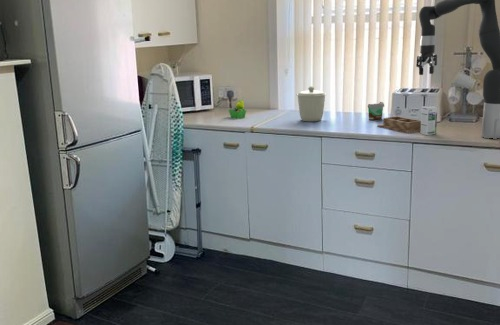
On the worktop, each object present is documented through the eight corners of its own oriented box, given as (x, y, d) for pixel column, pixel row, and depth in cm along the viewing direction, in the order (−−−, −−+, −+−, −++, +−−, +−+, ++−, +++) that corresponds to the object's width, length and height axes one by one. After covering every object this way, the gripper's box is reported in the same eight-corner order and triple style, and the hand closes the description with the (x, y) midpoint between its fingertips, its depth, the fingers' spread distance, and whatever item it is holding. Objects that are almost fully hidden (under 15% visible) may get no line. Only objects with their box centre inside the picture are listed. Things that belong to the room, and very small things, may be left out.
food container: (375, 121, 304) (376, 105, 301) (367, 120, 308) (367, 104, 306) (388, 118, 311) (388, 102, 309) (379, 117, 316) (380, 101, 313)
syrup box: (426, 135, 261) (428, 107, 258) (419, 133, 267) (421, 105, 263) (436, 134, 263) (437, 106, 259) (429, 132, 268) (430, 105, 265)
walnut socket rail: (427, 130, 274) (428, 121, 273) (408, 133, 268) (408, 124, 266) (396, 123, 295) (396, 115, 293) (377, 126, 288) (377, 117, 287)
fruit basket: (228, 117, 338) (227, 100, 335) (238, 115, 343) (238, 99, 340) (237, 119, 329) (237, 102, 326) (248, 117, 334) (248, 100, 331)
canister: (305, 124, 304) (305, 88, 298) (291, 119, 320) (291, 86, 315) (331, 121, 310) (331, 86, 305) (317, 117, 326) (316, 84, 321)
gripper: (424, 44, 270) (423, 75, 274) (441, 43, 278) (440, 73, 282) (413, 45, 277) (412, 75, 281) (430, 43, 284) (429, 73, 288)
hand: (426, 74), depth 281 cm, fingers open, 8 cm apart
